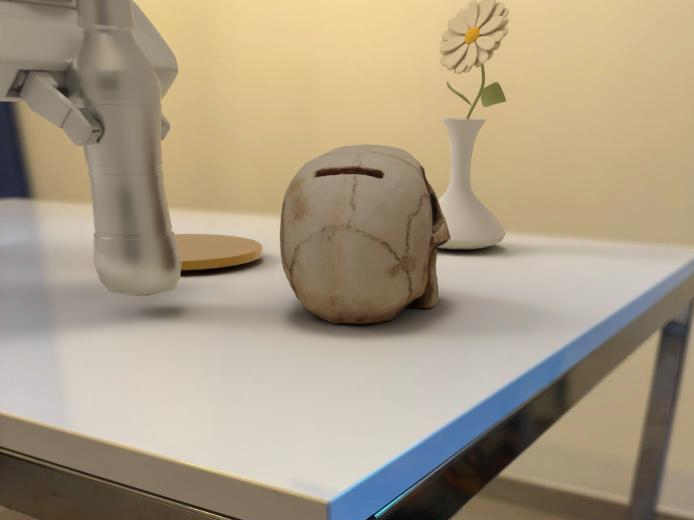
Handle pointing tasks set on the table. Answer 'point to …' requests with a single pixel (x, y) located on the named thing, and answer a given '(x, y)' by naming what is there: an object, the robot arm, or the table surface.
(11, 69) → the robot arm
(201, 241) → the plate
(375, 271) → the coin bank
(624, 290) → the table surface
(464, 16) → the flower in vase
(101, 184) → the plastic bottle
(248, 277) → the table surface
